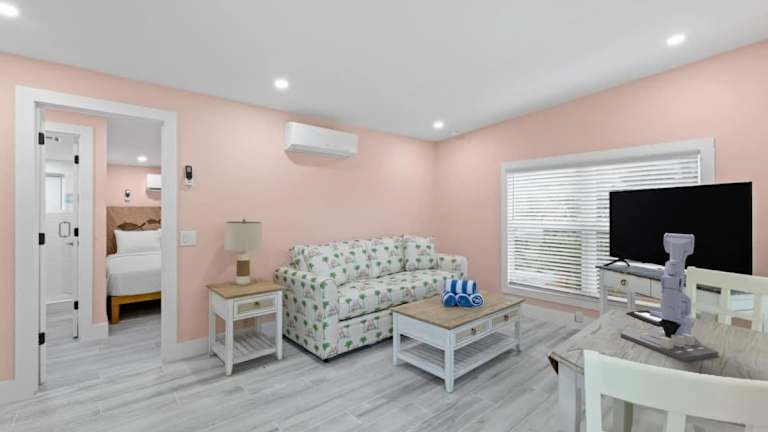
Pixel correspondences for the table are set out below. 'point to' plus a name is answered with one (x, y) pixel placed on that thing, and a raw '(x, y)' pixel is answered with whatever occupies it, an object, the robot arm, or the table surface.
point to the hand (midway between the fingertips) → (669, 339)
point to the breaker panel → (669, 352)
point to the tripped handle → (678, 340)
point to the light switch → (645, 317)
